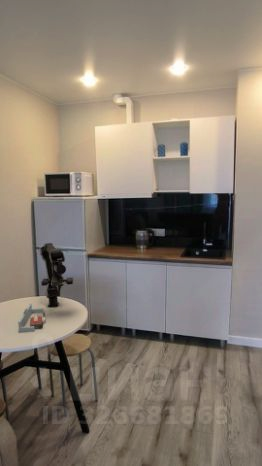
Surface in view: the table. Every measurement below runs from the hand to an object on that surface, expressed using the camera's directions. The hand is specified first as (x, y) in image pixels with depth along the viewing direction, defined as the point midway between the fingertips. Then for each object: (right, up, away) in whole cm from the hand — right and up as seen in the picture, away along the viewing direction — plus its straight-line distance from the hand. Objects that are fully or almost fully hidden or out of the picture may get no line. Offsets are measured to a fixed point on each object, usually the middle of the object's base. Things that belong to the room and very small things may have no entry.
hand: (58, 294), depth 196 cm
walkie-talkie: (-10, -15, -10) cm, 20 cm away
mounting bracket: (-13, -14, -9) cm, 21 cm away
